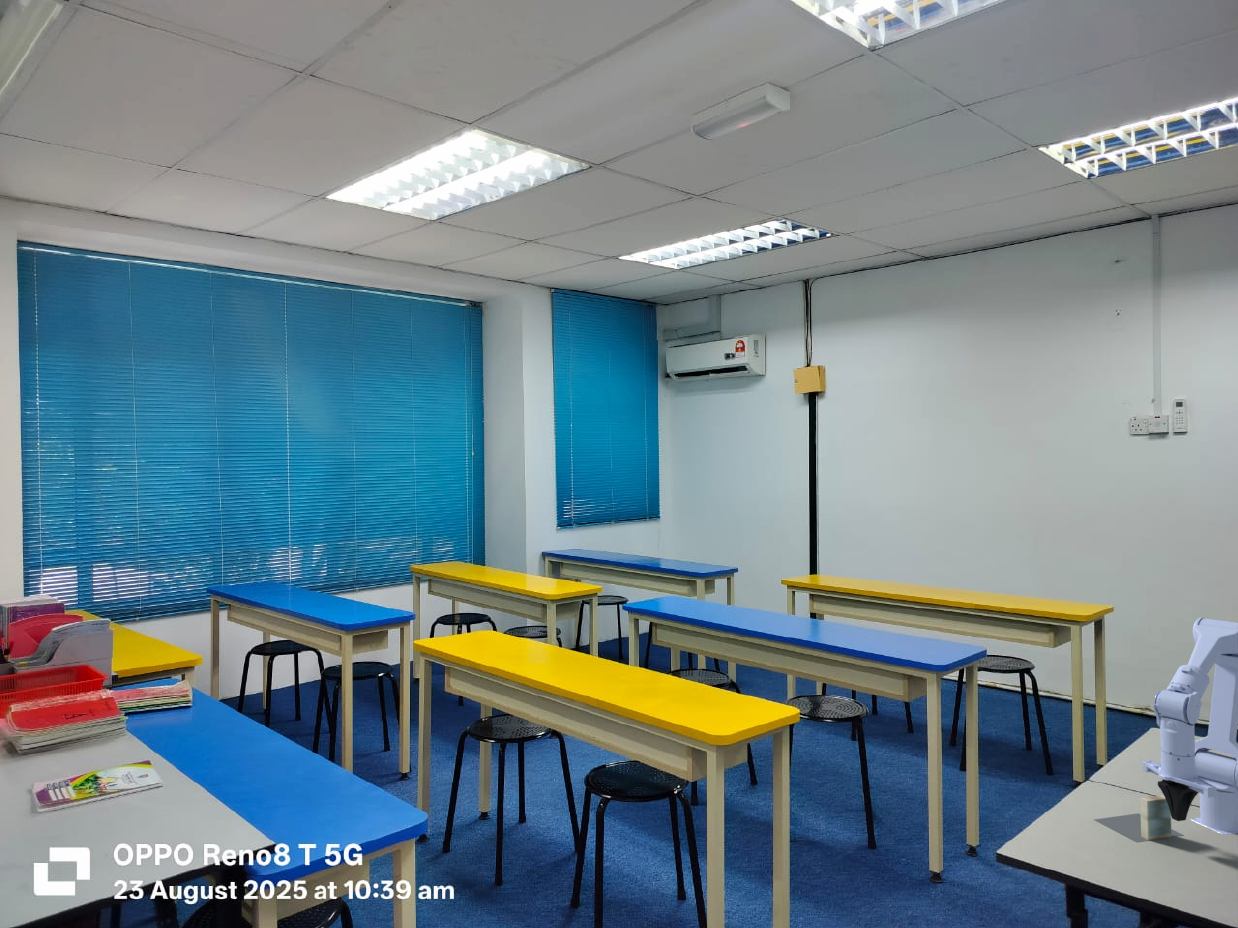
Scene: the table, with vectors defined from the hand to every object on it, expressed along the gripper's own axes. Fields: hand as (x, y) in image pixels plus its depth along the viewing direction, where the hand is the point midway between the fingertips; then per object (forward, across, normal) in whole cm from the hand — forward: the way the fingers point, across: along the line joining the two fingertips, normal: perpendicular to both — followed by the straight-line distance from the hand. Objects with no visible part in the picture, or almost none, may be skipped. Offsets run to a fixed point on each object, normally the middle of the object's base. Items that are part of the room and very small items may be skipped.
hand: (1178, 819), depth 161 cm
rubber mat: (+6, -10, 0) cm, 12 cm away
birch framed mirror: (+6, -5, 0) cm, 8 cm away
